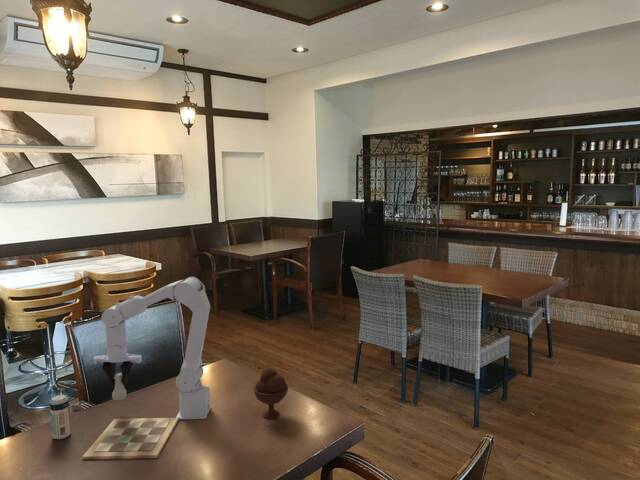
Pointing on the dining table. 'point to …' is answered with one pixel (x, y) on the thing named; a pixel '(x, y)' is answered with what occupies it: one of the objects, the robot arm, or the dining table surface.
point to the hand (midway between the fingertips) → (119, 384)
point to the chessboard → (132, 438)
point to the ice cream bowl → (270, 391)
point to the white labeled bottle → (60, 416)
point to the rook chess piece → (119, 387)
